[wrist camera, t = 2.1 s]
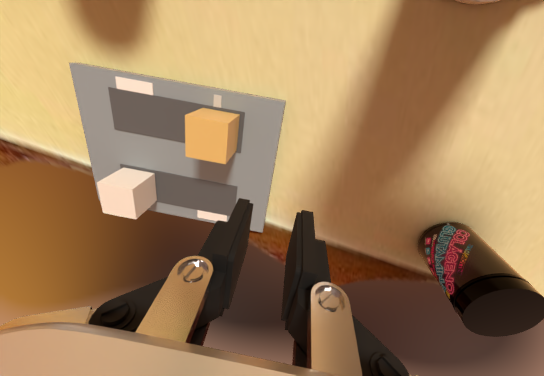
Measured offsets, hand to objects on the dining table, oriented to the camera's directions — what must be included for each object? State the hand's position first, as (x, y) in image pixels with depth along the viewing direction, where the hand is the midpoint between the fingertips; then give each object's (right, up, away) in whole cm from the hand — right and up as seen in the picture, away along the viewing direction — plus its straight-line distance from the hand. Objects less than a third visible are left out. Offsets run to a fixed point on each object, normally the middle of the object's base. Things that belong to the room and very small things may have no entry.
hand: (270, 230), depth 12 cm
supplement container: (+22, -5, +19) cm, 30 cm away
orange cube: (-6, +9, +14) cm, 17 cm away
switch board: (-11, +6, +18) cm, 22 cm away
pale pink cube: (-17, +3, +19) cm, 25 cm away
